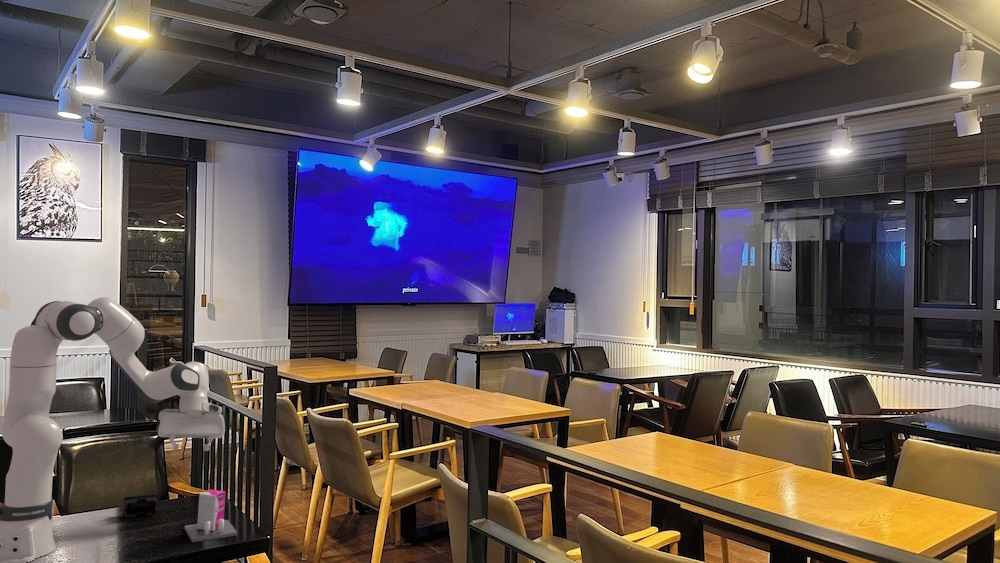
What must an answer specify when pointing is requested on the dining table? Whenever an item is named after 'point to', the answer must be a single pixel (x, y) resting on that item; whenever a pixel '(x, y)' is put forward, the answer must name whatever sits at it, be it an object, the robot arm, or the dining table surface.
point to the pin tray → (223, 531)
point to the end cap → (140, 507)
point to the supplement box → (211, 509)
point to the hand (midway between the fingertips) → (190, 450)
